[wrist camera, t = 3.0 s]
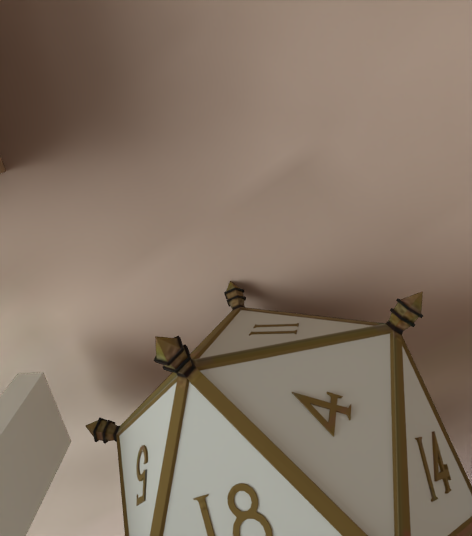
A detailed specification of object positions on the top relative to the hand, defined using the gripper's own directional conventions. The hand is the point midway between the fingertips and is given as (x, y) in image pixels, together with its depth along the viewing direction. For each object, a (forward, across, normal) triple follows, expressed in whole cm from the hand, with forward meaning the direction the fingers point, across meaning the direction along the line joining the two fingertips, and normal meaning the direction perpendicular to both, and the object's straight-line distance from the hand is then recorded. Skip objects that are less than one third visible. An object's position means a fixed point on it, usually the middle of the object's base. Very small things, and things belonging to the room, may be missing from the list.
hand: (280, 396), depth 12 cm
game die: (+2, 0, 0) cm, 2 cm away
